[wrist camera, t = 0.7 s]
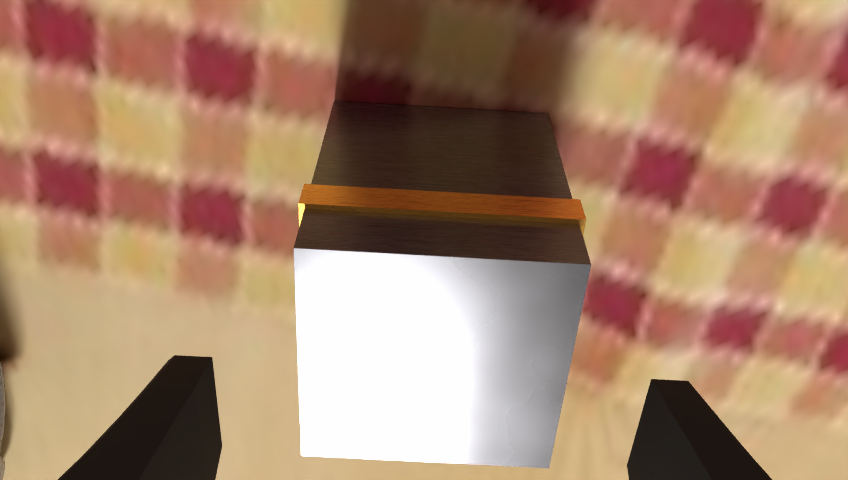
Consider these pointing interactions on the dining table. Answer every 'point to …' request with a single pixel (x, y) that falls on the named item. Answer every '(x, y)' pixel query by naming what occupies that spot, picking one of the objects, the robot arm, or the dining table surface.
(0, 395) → the ceramic mug
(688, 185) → the dining table surface
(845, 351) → the dining table surface
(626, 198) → the dining table surface
